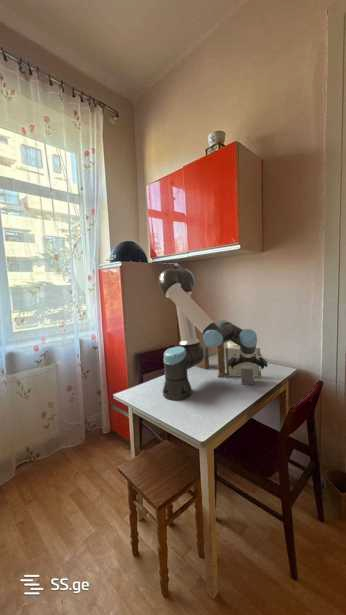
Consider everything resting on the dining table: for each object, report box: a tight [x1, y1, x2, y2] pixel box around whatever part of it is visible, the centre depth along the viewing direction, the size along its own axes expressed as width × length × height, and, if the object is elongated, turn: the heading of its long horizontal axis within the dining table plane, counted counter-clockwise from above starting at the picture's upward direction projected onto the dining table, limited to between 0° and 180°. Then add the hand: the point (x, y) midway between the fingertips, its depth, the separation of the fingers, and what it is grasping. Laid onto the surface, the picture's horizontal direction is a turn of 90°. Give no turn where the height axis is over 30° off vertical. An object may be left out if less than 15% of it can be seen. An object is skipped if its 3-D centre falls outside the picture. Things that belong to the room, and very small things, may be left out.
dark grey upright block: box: [240, 365, 254, 386], centre depth 136 cm, size 6×6×9 cm
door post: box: [216, 342, 228, 379], centre depth 147 cm, size 5×5×23 cm
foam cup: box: [227, 341, 240, 348], centre depth 172 cm, size 10×9×13 cm
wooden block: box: [195, 346, 210, 370], centre depth 165 cm, size 4×11×18 cm, turn 38°
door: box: [225, 347, 262, 377], centre depth 144 cm, size 19×2×16 cm, turn 77°
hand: (246, 370), depth 138 cm, fingers open, 13 cm apart
